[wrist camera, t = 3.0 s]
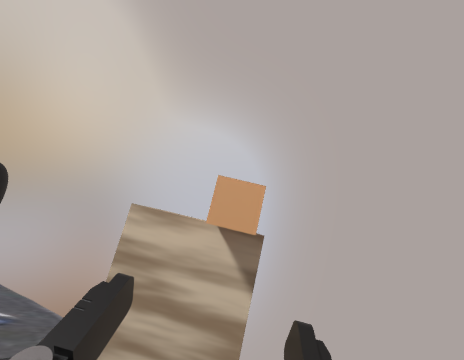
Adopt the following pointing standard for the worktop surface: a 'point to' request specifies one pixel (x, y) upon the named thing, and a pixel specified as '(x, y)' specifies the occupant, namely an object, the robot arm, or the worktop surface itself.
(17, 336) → the worktop surface
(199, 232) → the tall wooden block
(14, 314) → the worktop surface
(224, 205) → the rail
